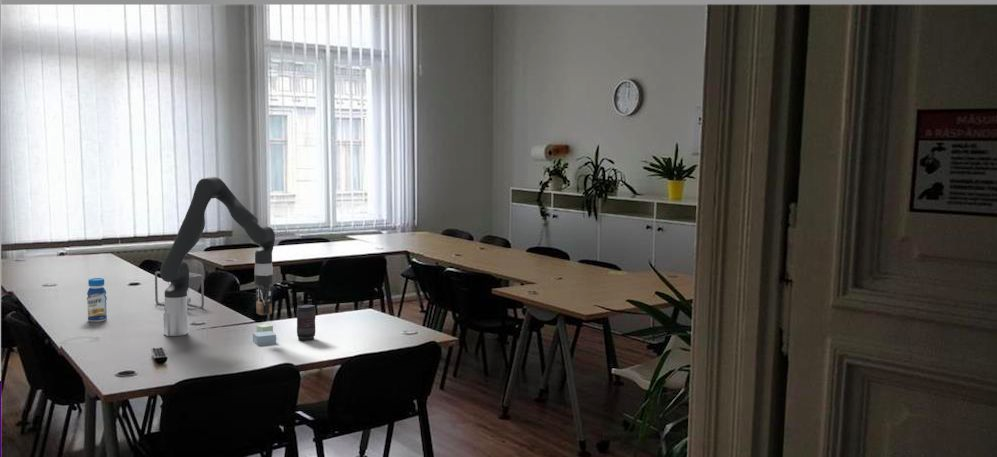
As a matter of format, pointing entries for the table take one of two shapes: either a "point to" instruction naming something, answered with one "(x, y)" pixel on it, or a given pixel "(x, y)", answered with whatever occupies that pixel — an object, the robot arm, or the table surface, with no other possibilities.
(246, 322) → the table surface
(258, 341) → the slate base block
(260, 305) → the walnut cube
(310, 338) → the camera lens
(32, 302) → the table surface
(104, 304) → the beverage bottle
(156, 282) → the newton's cradle
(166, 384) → the table surface
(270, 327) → the sage cube
